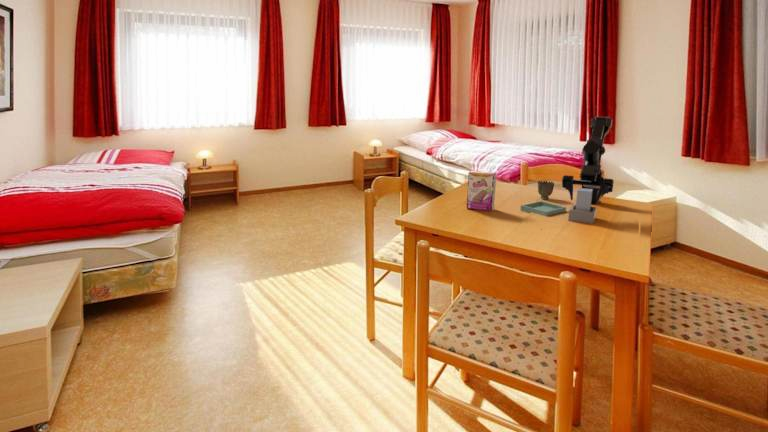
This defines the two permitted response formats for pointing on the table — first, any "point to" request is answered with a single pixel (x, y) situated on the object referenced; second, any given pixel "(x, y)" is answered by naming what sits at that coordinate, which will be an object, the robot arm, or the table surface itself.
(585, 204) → the block
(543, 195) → the cup
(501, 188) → the table surface
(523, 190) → the table surface
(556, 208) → the tray
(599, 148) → the robot arm
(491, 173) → the candy bar box
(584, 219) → the holder
